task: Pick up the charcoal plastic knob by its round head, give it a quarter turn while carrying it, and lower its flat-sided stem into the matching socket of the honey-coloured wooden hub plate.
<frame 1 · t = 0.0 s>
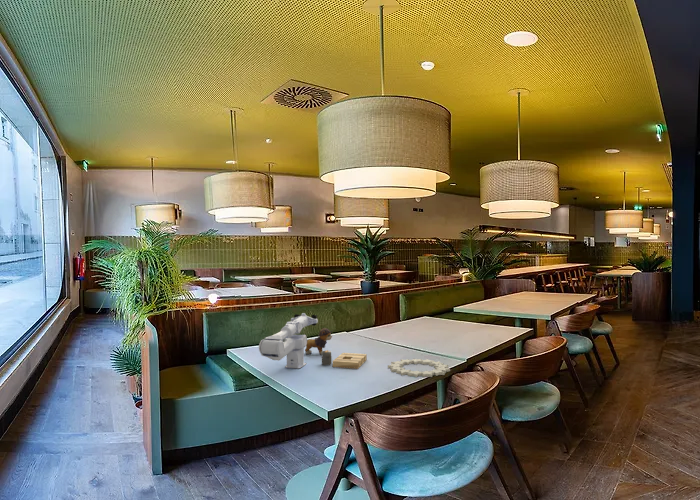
hand: (309, 316, 242), 22 cm above the table, tool horizontal, fingers open, 7 cm apart
hub plate: (350, 363, 228), on the table
figurine: (314, 354, 249), on the table
decorative wreath: (418, 369, 217), on the table
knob: (326, 364, 226), on the table
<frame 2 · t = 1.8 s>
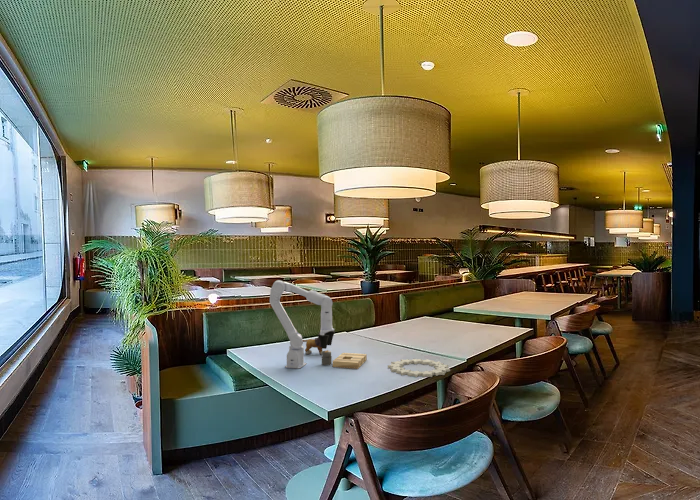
hand: (326, 346, 226), 9 cm above the table, tool pointing down, fingers open, 7 cm apart
nothing on the table moved.
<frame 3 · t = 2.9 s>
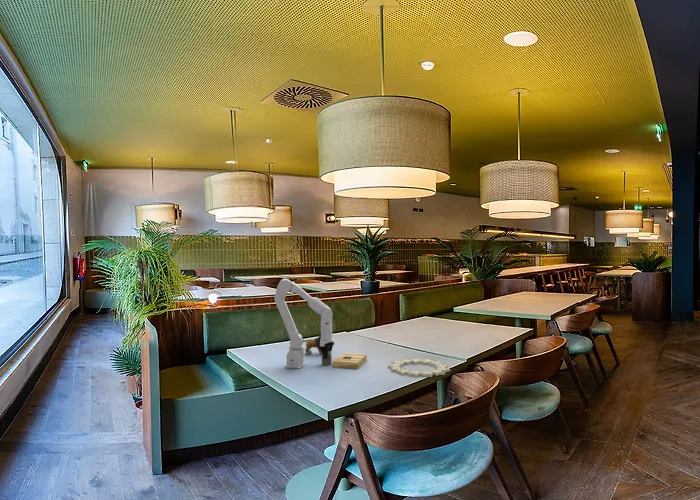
hand: (326, 357, 226), 3 cm above the table, tool pointing down, fingers closed on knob, 5 cm apart
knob: (326, 364, 226), on the table, touching gripper
everything else where it was.
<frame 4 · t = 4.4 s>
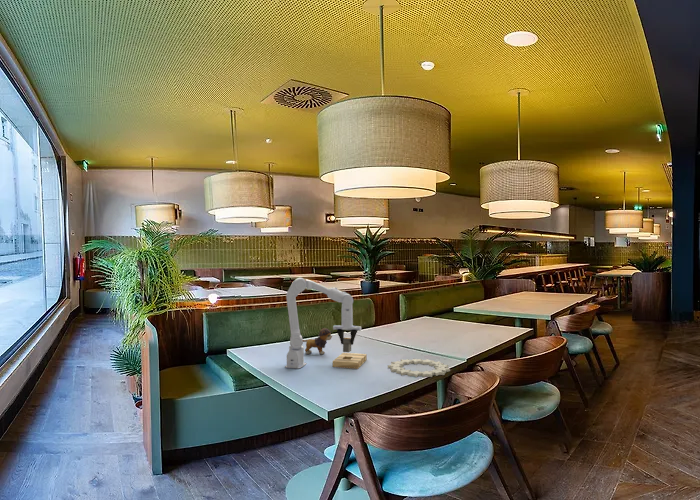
hand: (347, 344, 227), 10 cm above the table, tool pointing down, fingers closed on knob, 5 cm apart
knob: (347, 351, 227), point 6 cm above the table, touching gripper
everything else where it was.
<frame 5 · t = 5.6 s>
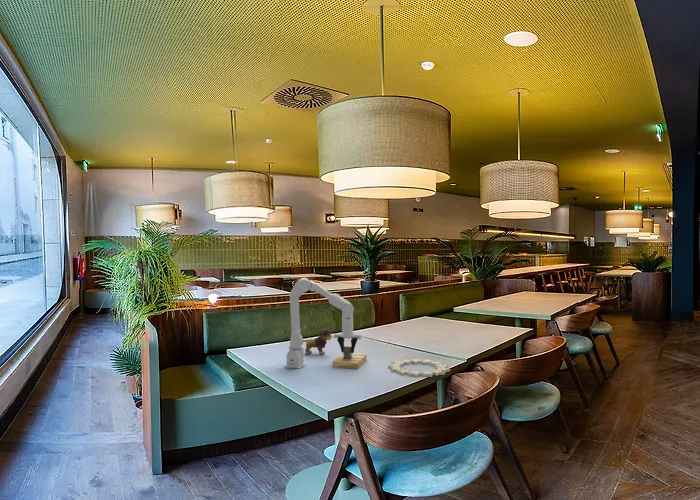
hand: (347, 352, 227), 6 cm above the table, tool pointing down, fingers closed on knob, 5 cm apart
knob: (347, 359, 227), point 2 cm above the table, touching gripper
everything else where it was.
when the fingers open (5 cm above the table, at t = 6.2 s): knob drops 2 cm, resting in hub plate.
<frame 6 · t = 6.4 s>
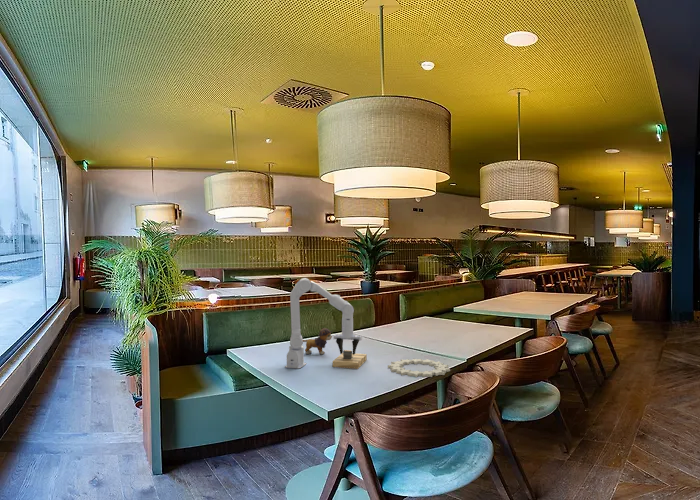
hand: (347, 353, 227), 5 cm above the table, tool pointing down, fingers open, 6 cm apart
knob: (347, 363, 227), resting in hub plate
everything else where it was.
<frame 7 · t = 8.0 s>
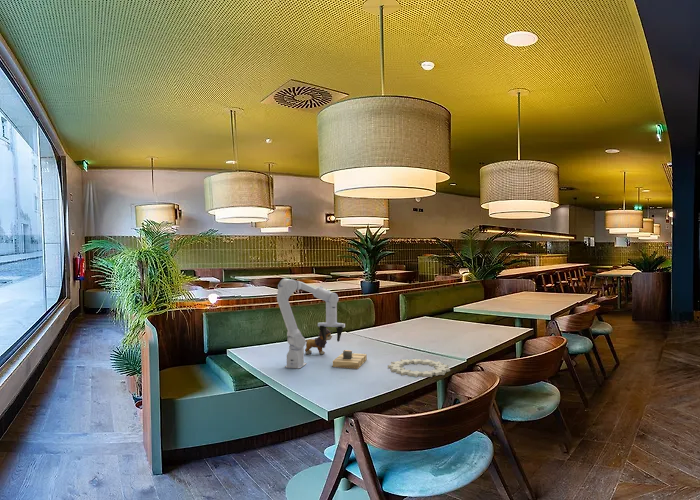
hand: (331, 340, 233), 10 cm above the table, tool pointing down, fingers open, 7 cm apart
nothing on the table moved.
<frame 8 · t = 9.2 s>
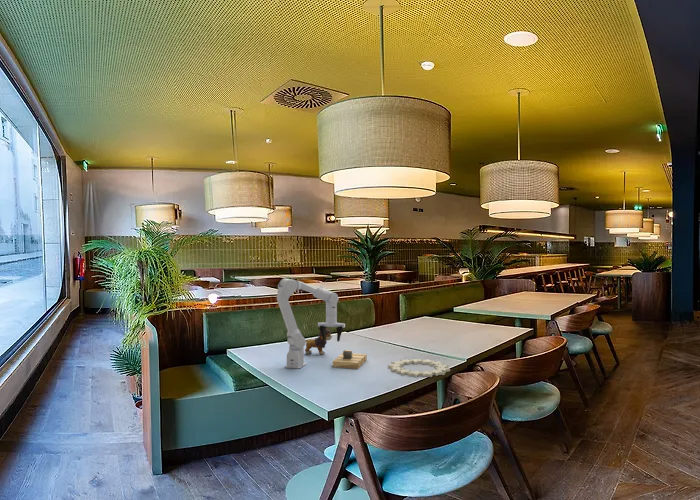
hand: (331, 340, 233), 10 cm above the table, tool pointing down, fingers open, 7 cm apart
nothing on the table moved.
at the end: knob 0.0 cm from the target spot on the hub plate, point 0.0 cm above the hub plate's base; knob tilted 0°; the gripper is holding nothing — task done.
